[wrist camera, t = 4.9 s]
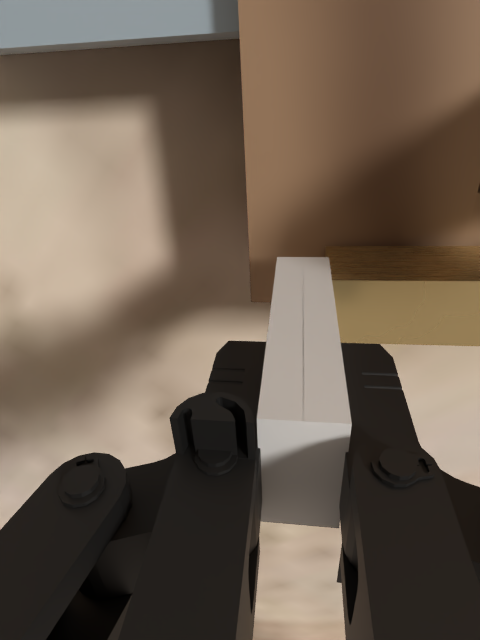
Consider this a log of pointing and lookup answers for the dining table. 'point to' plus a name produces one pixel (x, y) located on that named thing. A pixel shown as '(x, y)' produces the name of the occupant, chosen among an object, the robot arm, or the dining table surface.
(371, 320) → the tan rectangular bar
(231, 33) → the grey square holed block
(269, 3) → the socket block
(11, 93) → the dining table surface
